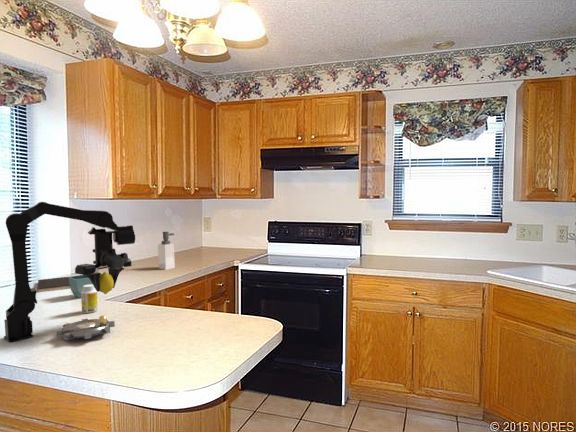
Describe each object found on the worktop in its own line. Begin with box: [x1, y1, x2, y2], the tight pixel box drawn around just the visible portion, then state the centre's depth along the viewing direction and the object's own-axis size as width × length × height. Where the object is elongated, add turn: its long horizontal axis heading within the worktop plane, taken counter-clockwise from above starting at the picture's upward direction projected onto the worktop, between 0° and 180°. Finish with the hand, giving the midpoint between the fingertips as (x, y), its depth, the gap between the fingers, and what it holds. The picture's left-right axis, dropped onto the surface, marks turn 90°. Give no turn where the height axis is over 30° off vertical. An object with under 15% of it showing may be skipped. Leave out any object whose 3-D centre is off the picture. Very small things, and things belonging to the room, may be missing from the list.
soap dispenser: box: [157, 231, 176, 270], centre depth 244 cm, size 6×9×22 cm
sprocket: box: [55, 315, 116, 341], centre depth 131 cm, size 17×17×4 cm
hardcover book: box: [36, 275, 72, 293], centre depth 203 cm, size 16×23×2 cm
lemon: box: [99, 271, 114, 295], centre depth 145 cm, size 6×6×8 cm
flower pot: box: [67, 274, 92, 299], centre depth 181 cm, size 9×9×9 cm
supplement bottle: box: [80, 284, 99, 314], centre depth 157 cm, size 6×6×10 cm
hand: (105, 289), depth 145 cm, fingers closed on lemon, 5 cm apart
